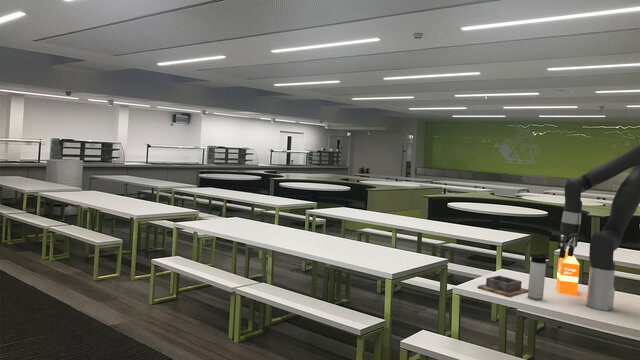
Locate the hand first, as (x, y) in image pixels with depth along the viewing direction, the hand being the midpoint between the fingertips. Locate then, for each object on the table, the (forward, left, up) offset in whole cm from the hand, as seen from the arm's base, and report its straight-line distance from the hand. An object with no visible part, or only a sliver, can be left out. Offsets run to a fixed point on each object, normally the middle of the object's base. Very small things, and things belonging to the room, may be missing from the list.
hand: (566, 257), depth 212 cm
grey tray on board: (+22, +13, -19) cm, 32 cm away
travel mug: (+7, +12, -19) cm, 24 cm away
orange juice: (+5, -15, -19) cm, 25 cm away
